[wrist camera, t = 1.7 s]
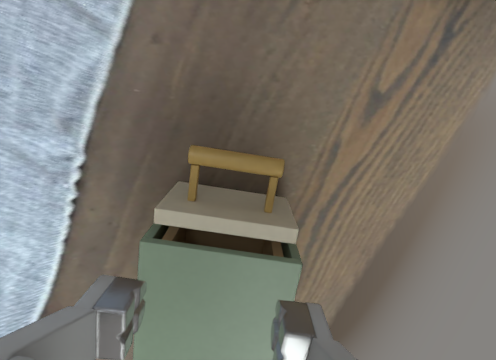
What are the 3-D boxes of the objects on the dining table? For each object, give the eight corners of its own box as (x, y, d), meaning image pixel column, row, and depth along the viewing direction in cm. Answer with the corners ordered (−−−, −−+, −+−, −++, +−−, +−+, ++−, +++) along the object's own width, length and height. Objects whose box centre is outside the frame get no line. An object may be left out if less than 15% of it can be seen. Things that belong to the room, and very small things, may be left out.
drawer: (182, 134, 24) (158, 146, 18) (296, 152, 25) (312, 171, 18) (168, 285, 29) (145, 339, 22) (265, 298, 29) (270, 355, 23)
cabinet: (172, 199, 27) (139, 241, 19) (287, 216, 27) (303, 264, 19) (162, 304, 30) (131, 378, 22) (265, 318, 31) (271, 395, 23)
